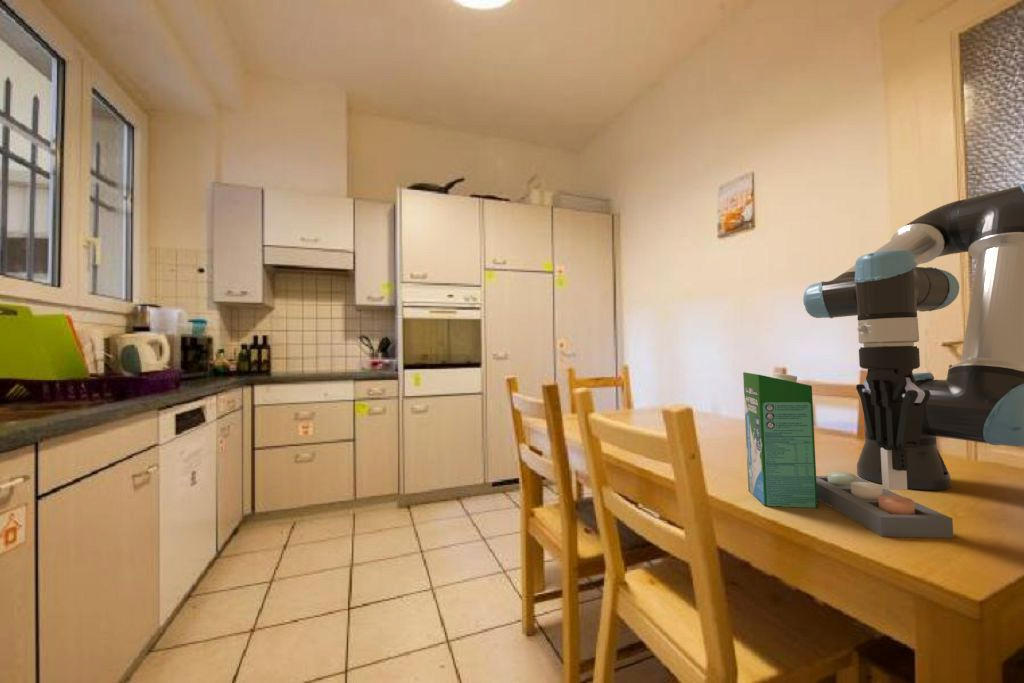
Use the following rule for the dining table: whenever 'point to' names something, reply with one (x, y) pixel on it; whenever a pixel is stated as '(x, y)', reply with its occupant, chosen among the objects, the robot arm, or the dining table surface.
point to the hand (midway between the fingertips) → (894, 488)
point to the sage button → (841, 478)
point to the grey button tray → (884, 513)
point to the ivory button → (866, 490)
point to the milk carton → (780, 440)
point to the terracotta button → (896, 504)
